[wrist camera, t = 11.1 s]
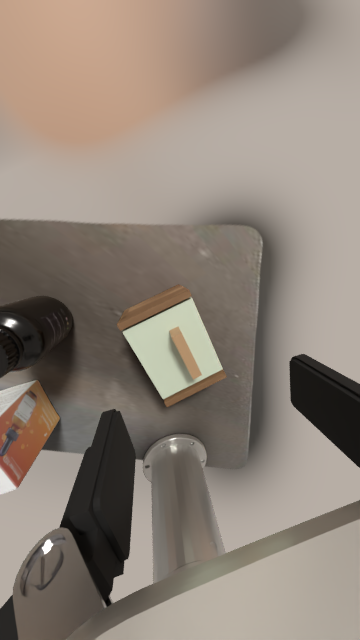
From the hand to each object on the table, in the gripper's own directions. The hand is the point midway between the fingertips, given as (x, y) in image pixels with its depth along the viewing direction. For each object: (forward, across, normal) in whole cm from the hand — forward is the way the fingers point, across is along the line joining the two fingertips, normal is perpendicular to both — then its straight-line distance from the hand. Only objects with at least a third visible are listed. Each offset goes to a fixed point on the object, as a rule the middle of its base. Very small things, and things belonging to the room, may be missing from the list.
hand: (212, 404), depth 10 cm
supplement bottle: (+20, +17, -4) cm, 27 cm away
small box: (+20, +24, +9) cm, 33 cm away
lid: (+14, +1, +3) cm, 14 cm away
